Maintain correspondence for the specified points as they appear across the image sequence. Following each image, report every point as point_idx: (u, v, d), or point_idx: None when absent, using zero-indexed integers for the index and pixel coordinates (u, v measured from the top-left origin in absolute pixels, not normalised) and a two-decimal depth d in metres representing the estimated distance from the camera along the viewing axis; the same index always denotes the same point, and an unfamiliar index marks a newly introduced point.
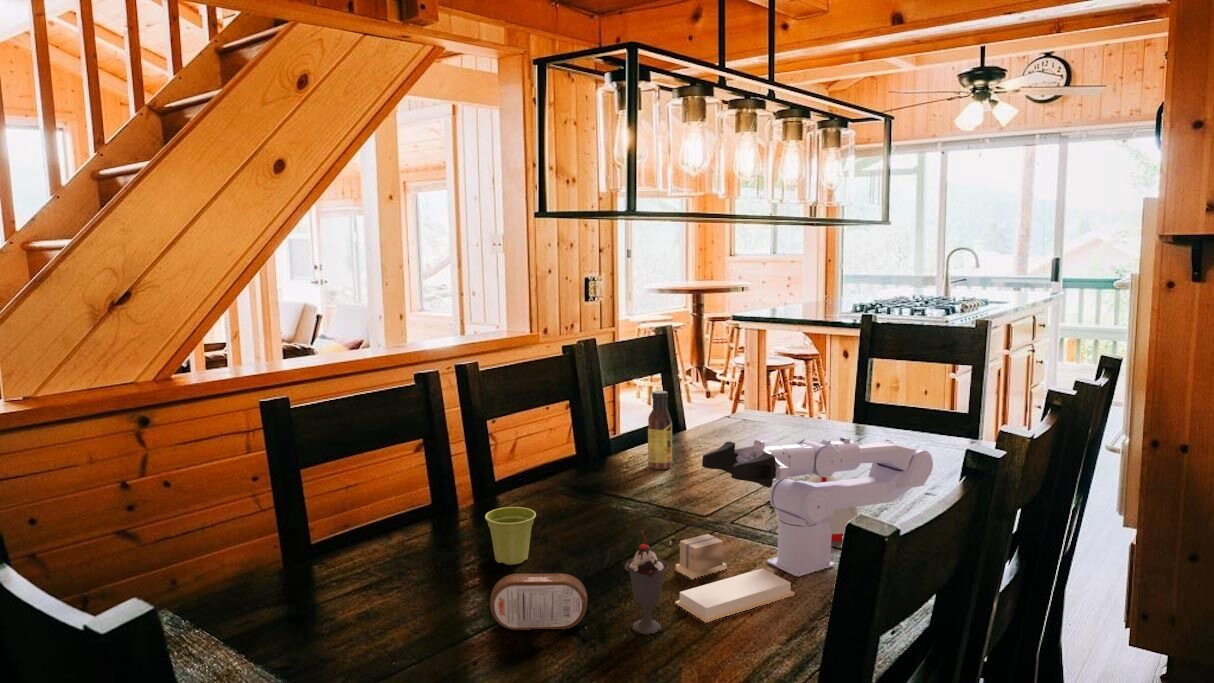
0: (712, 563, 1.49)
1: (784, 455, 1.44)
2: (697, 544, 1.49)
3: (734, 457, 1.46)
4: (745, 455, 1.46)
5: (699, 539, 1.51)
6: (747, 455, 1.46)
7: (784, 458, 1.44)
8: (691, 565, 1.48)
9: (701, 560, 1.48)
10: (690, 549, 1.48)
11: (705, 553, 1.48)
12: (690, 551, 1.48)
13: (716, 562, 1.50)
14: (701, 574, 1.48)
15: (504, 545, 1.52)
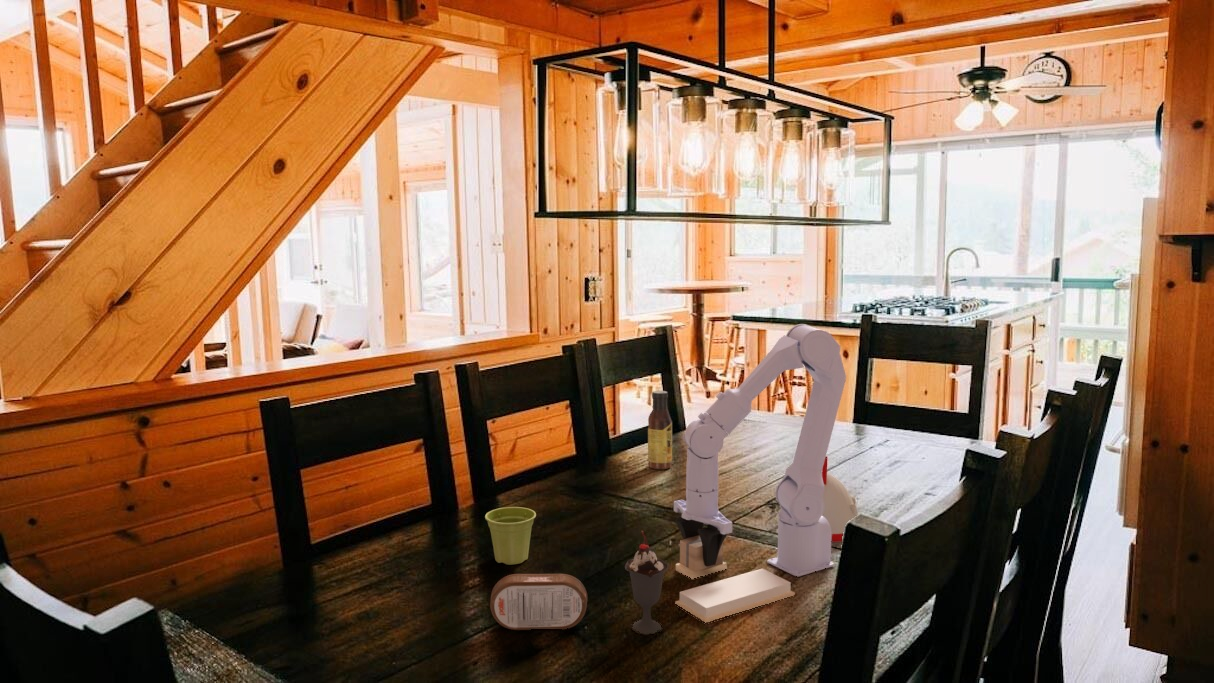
0: None
1: (702, 496, 1.46)
2: (697, 543, 1.49)
3: (692, 520, 1.52)
4: None
5: (699, 539, 1.51)
6: None
7: (705, 497, 1.46)
8: (691, 564, 1.48)
9: (702, 560, 1.48)
10: (690, 548, 1.48)
11: None
12: (690, 550, 1.48)
13: (716, 561, 1.50)
14: (701, 573, 1.48)
15: (504, 545, 1.52)
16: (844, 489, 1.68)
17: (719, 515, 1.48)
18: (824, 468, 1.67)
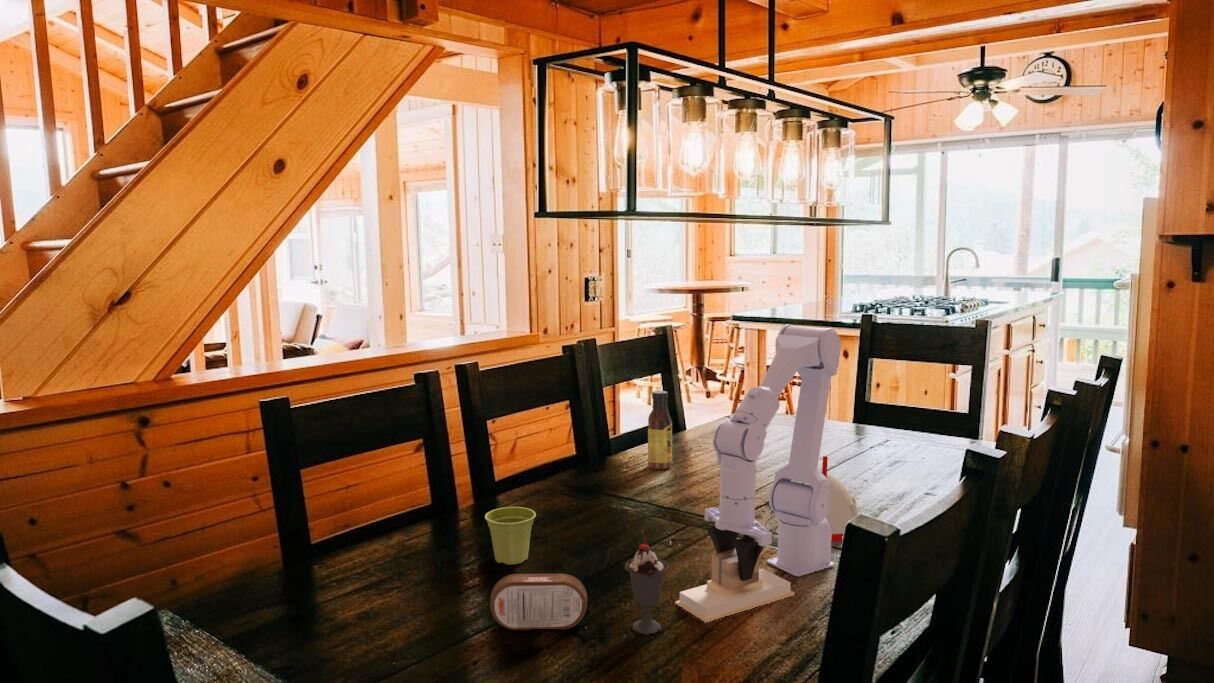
0: (747, 580, 1.36)
1: (738, 504, 1.33)
2: (731, 558, 1.36)
3: (726, 530, 1.39)
4: None
5: (733, 553, 1.38)
6: None
7: (742, 505, 1.33)
8: (724, 582, 1.35)
9: (736, 577, 1.35)
10: (723, 564, 1.35)
11: None
12: (723, 566, 1.35)
13: None
14: (735, 592, 1.35)
15: (504, 545, 1.52)
16: (844, 489, 1.68)
17: (756, 525, 1.35)
18: (824, 468, 1.67)
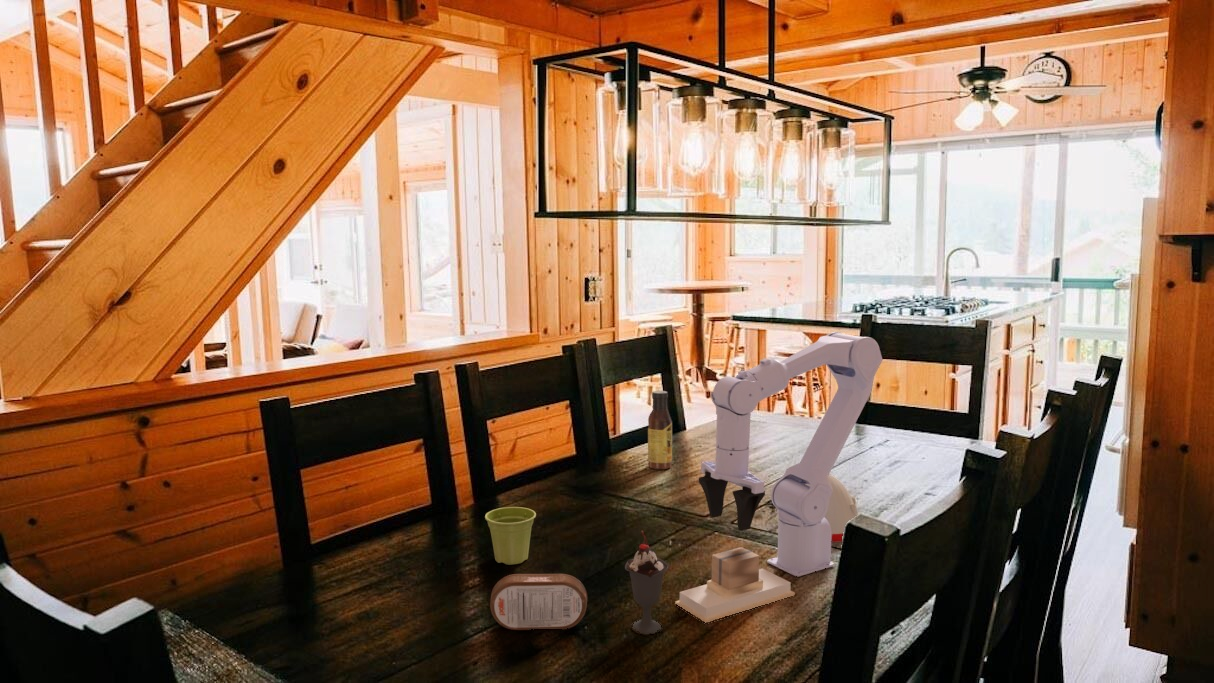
0: (747, 580, 1.36)
1: (733, 455, 1.41)
2: (731, 558, 1.36)
3: (716, 479, 1.47)
4: None
5: (733, 553, 1.38)
6: None
7: (736, 456, 1.41)
8: (724, 582, 1.35)
9: (736, 577, 1.35)
10: (723, 564, 1.35)
11: (740, 568, 1.35)
12: (723, 566, 1.35)
13: (751, 578, 1.37)
14: (735, 592, 1.35)
15: (504, 545, 1.52)
16: (844, 489, 1.68)
17: (750, 475, 1.43)
18: None
